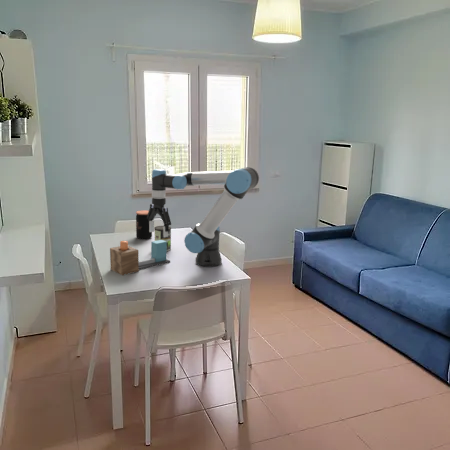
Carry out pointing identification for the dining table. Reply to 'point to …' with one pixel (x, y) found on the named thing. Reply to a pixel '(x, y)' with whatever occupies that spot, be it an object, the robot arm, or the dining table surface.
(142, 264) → the rail
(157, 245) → the block
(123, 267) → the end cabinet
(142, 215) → the coffee jar
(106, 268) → the dining table surface
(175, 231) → the dining table surface
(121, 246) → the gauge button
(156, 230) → the coffee can
